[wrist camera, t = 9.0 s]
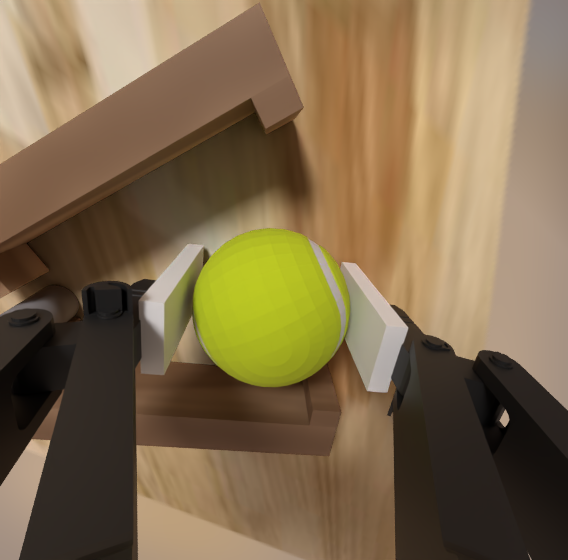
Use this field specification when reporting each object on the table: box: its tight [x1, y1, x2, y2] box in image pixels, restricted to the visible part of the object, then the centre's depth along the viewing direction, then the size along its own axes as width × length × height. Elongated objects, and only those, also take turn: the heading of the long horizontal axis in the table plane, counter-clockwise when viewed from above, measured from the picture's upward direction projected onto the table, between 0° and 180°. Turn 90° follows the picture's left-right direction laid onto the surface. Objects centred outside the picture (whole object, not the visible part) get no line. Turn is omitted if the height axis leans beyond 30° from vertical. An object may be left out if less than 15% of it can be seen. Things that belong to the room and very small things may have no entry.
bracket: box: [0, 2, 304, 298], centre depth 12 cm, size 4×16×4 cm, turn 117°
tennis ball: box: [192, 228, 350, 387], centre depth 14 cm, size 7×7×7 cm
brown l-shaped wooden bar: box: [0, 285, 341, 456], centre depth 16 cm, size 6×16×4 cm, turn 82°
